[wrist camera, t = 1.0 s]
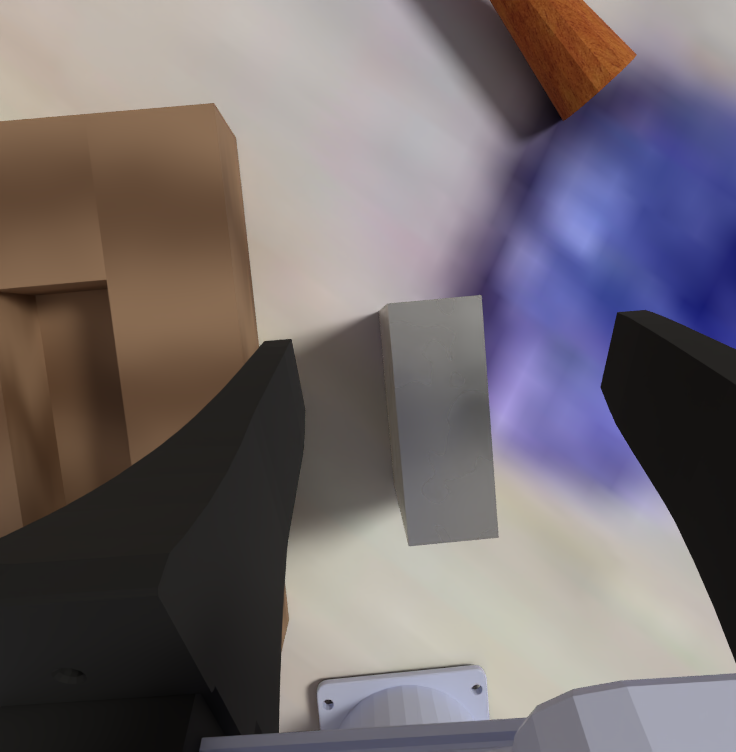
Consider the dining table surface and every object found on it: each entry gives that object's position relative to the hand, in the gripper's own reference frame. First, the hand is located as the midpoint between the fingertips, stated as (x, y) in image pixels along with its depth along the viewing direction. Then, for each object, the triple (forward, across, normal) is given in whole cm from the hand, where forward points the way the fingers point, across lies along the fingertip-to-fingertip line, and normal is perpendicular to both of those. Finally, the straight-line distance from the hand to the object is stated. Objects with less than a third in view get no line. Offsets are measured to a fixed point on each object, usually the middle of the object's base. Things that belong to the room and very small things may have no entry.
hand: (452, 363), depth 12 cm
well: (+9, +14, +7) cm, 18 cm away
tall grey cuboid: (+9, 0, +8) cm, 12 cm away
